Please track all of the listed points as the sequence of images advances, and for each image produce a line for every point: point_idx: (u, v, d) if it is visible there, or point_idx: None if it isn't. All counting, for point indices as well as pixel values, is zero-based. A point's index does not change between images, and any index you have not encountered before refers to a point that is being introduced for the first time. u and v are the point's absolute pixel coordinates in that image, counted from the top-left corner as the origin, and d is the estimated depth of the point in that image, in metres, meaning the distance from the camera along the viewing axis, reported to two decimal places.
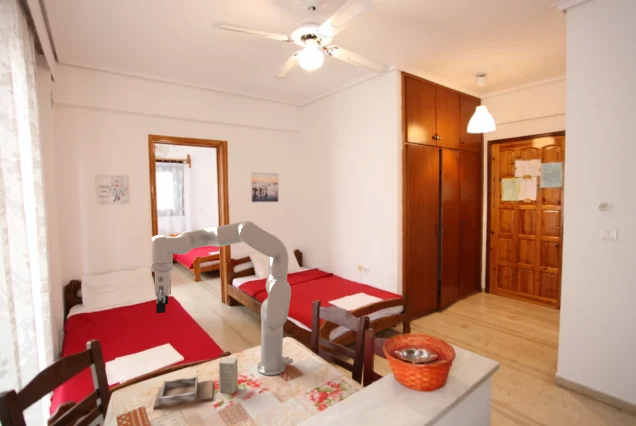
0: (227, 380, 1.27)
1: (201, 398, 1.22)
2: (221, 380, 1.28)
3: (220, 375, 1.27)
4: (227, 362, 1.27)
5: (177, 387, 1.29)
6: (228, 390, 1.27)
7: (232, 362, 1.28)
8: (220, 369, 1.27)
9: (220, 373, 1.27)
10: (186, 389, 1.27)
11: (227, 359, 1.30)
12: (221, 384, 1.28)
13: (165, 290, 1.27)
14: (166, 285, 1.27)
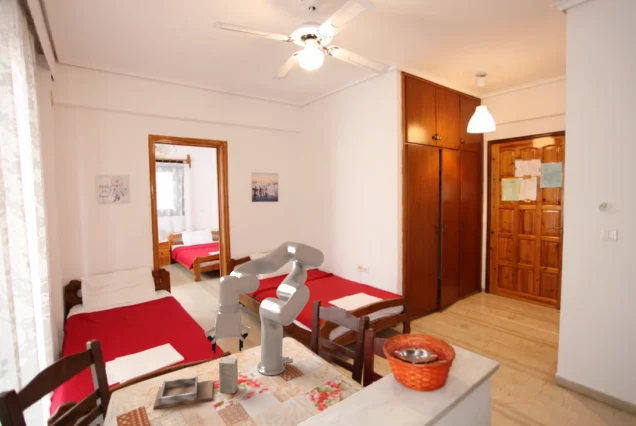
0: (227, 380, 1.27)
1: (201, 398, 1.22)
2: (221, 380, 1.28)
3: (220, 375, 1.27)
4: (227, 362, 1.27)
5: (177, 387, 1.29)
6: (228, 390, 1.27)
7: (232, 362, 1.28)
8: (220, 369, 1.27)
9: (220, 373, 1.27)
10: (186, 389, 1.27)
11: (227, 359, 1.30)
12: (221, 384, 1.28)
13: None
14: None
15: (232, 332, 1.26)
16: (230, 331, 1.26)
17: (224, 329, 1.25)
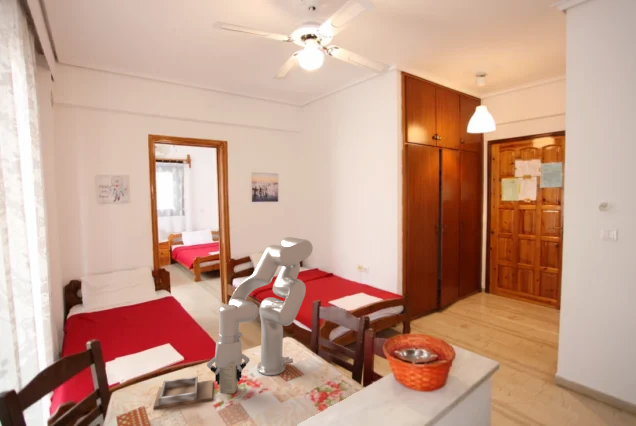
0: (227, 380, 1.27)
1: (201, 398, 1.22)
2: (221, 380, 1.28)
3: (220, 375, 1.27)
4: None
5: (177, 387, 1.29)
6: (228, 390, 1.27)
7: None
8: (220, 369, 1.27)
9: (220, 373, 1.27)
10: (186, 389, 1.27)
11: None
12: (221, 384, 1.28)
13: None
14: None
15: (233, 361, 1.27)
16: (230, 360, 1.27)
17: (224, 359, 1.26)
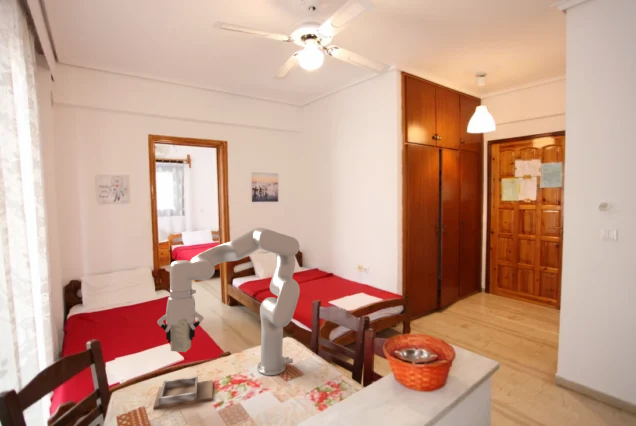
0: (179, 338, 1.22)
1: (201, 398, 1.22)
2: (172, 338, 1.22)
3: (171, 333, 1.22)
4: None
5: (177, 387, 1.29)
6: (179, 349, 1.22)
7: None
8: (171, 326, 1.22)
9: (171, 331, 1.22)
10: (186, 389, 1.27)
11: None
12: (172, 342, 1.22)
13: None
14: None
15: (184, 319, 1.22)
16: (182, 317, 1.22)
17: (175, 316, 1.21)
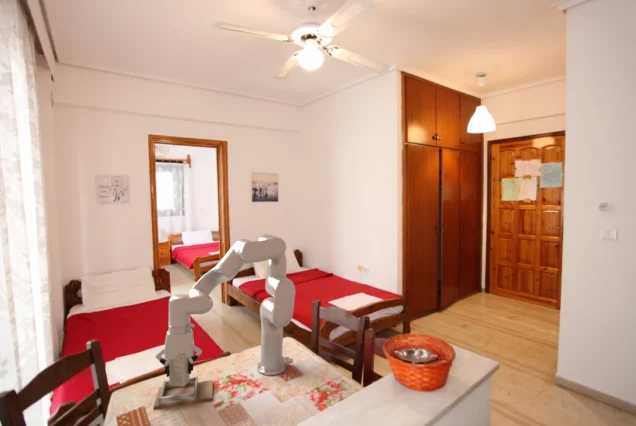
0: (177, 373, 1.23)
1: (201, 398, 1.22)
2: (170, 373, 1.23)
3: (170, 367, 1.23)
4: None
5: (177, 387, 1.29)
6: (178, 383, 1.23)
7: (182, 354, 1.23)
8: (170, 361, 1.23)
9: (170, 365, 1.23)
10: (186, 389, 1.27)
11: None
12: (170, 376, 1.23)
13: None
14: None
15: (183, 353, 1.23)
16: (181, 352, 1.22)
17: (174, 351, 1.22)
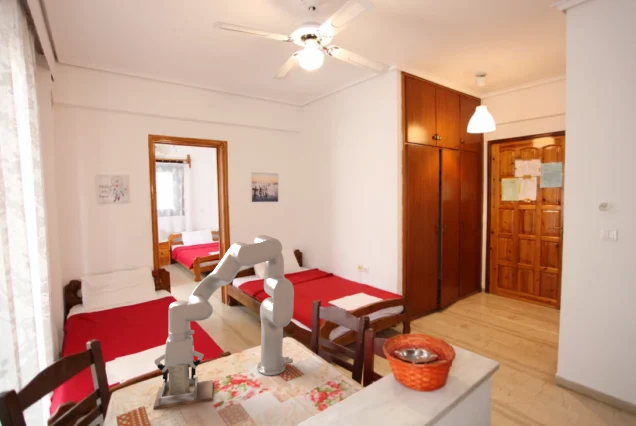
0: (177, 383, 1.23)
1: (201, 398, 1.22)
2: (170, 383, 1.23)
3: (170, 378, 1.23)
4: (177, 365, 1.23)
5: None
6: (178, 393, 1.23)
7: None
8: (169, 372, 1.23)
9: (170, 376, 1.23)
10: None
11: None
12: (170, 387, 1.23)
13: None
14: None
15: (183, 360, 1.23)
16: (181, 359, 1.22)
17: (174, 357, 1.22)
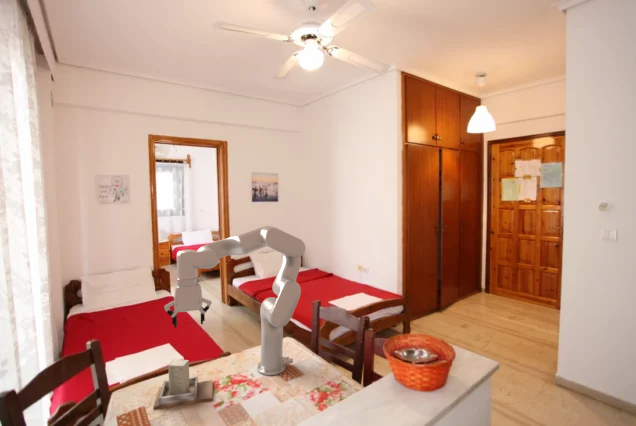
0: (177, 383, 1.23)
1: (201, 398, 1.22)
2: (170, 383, 1.23)
3: (170, 378, 1.23)
4: (176, 365, 1.23)
5: None
6: (178, 393, 1.23)
7: (182, 364, 1.23)
8: (169, 372, 1.23)
9: (170, 376, 1.23)
10: None
11: (178, 361, 1.26)
12: (170, 387, 1.23)
13: None
14: None
15: (192, 305, 1.27)
16: (190, 304, 1.27)
17: (183, 303, 1.26)
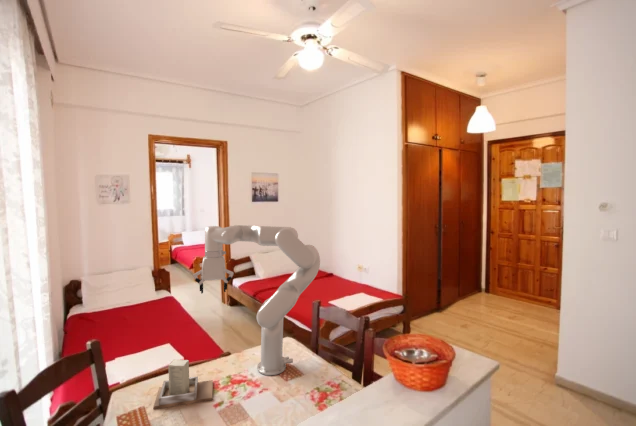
0: (177, 383, 1.23)
1: (201, 398, 1.22)
2: (170, 383, 1.23)
3: (170, 378, 1.23)
4: (177, 365, 1.23)
5: None
6: (178, 393, 1.23)
7: (182, 364, 1.23)
8: (169, 372, 1.23)
9: (170, 376, 1.23)
10: None
11: (178, 361, 1.26)
12: (170, 387, 1.23)
13: None
14: None
15: (217, 275, 1.45)
16: (215, 274, 1.45)
17: (209, 272, 1.44)
